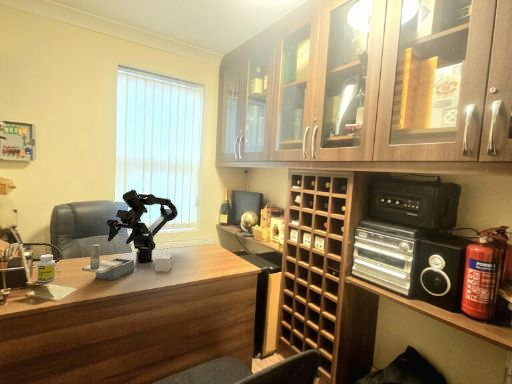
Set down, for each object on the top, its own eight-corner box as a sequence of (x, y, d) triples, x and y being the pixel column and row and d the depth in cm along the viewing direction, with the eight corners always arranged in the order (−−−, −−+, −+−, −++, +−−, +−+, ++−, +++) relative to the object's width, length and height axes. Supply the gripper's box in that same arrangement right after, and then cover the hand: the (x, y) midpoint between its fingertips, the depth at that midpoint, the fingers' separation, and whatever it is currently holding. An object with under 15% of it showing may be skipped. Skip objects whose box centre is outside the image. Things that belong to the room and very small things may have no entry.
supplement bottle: (35, 283, 106) (35, 258, 105) (39, 278, 111) (40, 254, 110) (52, 281, 108) (53, 257, 107) (56, 277, 113) (56, 253, 112)
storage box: (116, 268, 126) (116, 257, 126) (133, 271, 124) (133, 260, 124) (95, 277, 114) (95, 265, 114) (114, 280, 113) (114, 268, 112)
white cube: (155, 271, 126) (155, 258, 126) (157, 267, 132) (158, 254, 132) (168, 271, 127) (169, 258, 126) (170, 267, 133) (171, 254, 132)
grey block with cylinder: (105, 261, 119) (105, 238, 119) (123, 264, 117) (124, 240, 117) (81, 270, 107) (82, 245, 107) (101, 273, 105) (102, 247, 105)
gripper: (109, 201, 126) (89, 229, 116) (145, 204, 122) (127, 233, 112) (121, 216, 134) (102, 243, 124) (155, 220, 130) (139, 248, 120)
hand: (117, 242), depth 120 cm, fingers open, 9 cm apart
